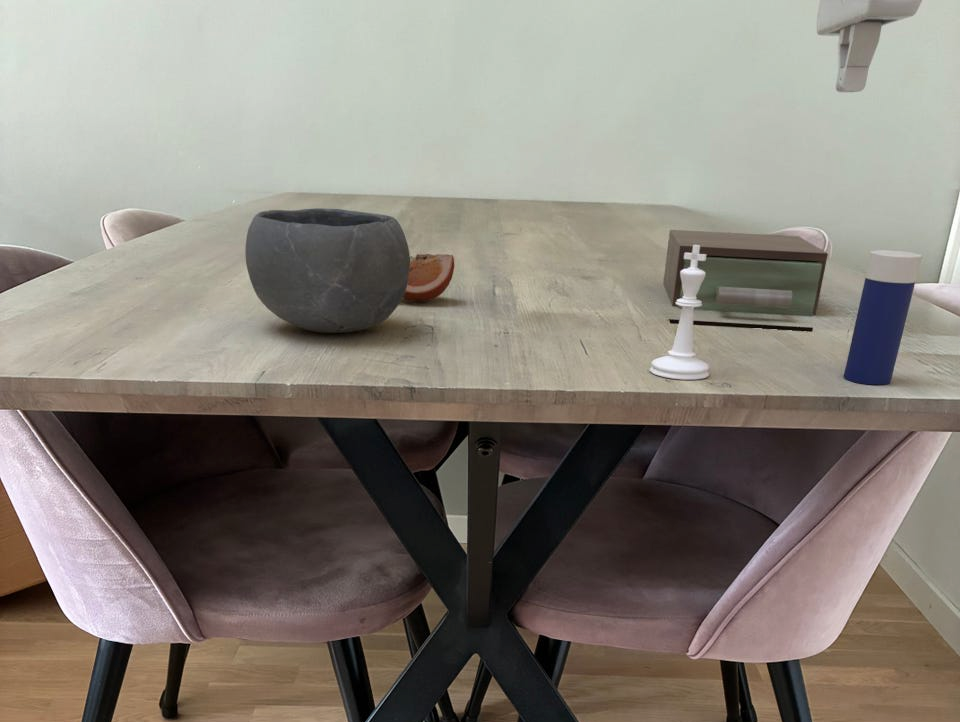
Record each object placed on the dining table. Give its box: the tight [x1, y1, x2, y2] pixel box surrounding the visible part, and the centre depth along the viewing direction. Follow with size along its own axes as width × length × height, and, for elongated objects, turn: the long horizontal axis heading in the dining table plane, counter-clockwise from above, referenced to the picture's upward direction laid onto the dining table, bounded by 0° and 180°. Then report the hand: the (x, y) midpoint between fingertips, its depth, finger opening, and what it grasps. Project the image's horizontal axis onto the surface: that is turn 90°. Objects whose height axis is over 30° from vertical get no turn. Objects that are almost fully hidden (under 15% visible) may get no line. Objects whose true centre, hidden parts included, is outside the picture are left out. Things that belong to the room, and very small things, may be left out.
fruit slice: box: [402, 253, 455, 303], centre depth 105 cm, size 8×7×5 cm
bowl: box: [244, 207, 411, 334], centre depth 88 cm, size 15×15×10 cm
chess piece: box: [649, 245, 710, 381], centre depth 78 cm, size 5×5×10 cm
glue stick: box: [843, 249, 923, 386], centre depth 78 cm, size 4×4×10 cm
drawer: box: [677, 255, 822, 317], centre depth 100 cm, size 19×13×6 cm
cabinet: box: [662, 229, 829, 333], centre depth 104 cm, size 16×15×8 cm
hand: (849, 92), depth 81 cm, fingers closed
